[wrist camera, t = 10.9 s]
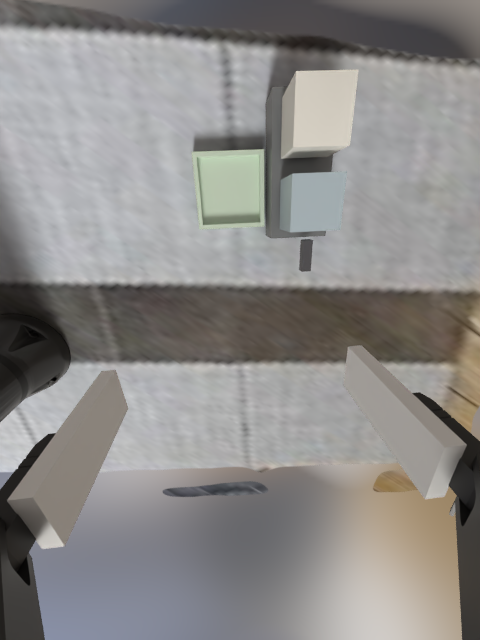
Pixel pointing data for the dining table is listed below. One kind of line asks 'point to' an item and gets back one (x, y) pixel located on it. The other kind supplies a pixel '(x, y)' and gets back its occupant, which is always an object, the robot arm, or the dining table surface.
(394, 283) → the dining table surface
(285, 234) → the strip
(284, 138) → the plug
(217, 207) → the tray
